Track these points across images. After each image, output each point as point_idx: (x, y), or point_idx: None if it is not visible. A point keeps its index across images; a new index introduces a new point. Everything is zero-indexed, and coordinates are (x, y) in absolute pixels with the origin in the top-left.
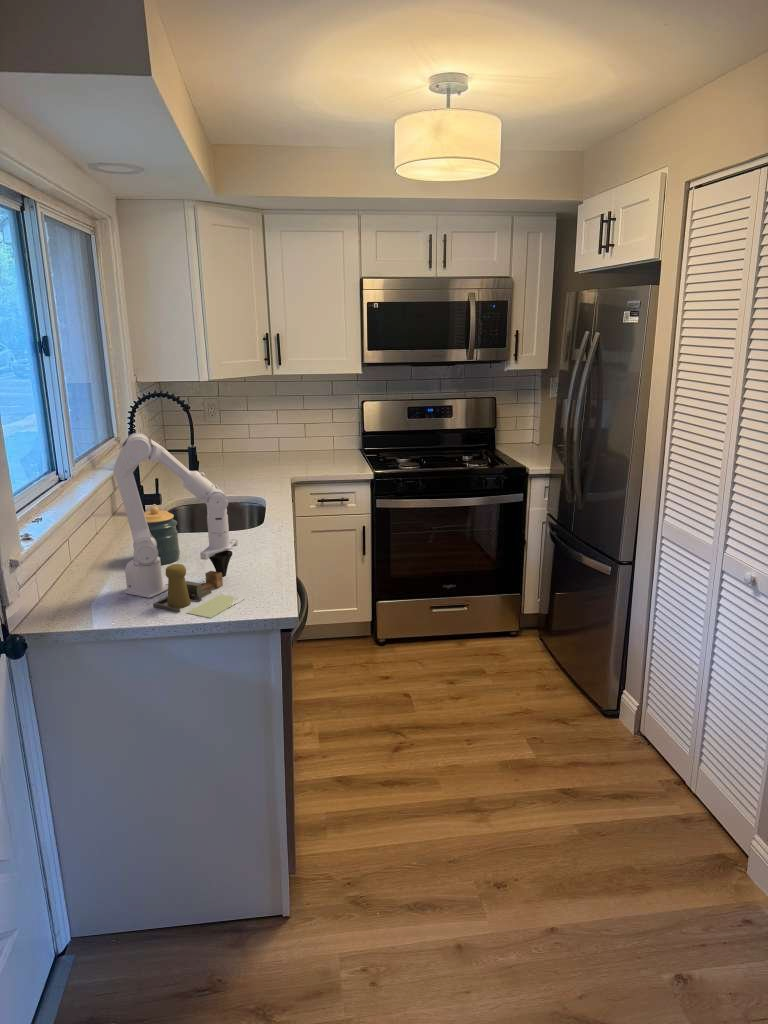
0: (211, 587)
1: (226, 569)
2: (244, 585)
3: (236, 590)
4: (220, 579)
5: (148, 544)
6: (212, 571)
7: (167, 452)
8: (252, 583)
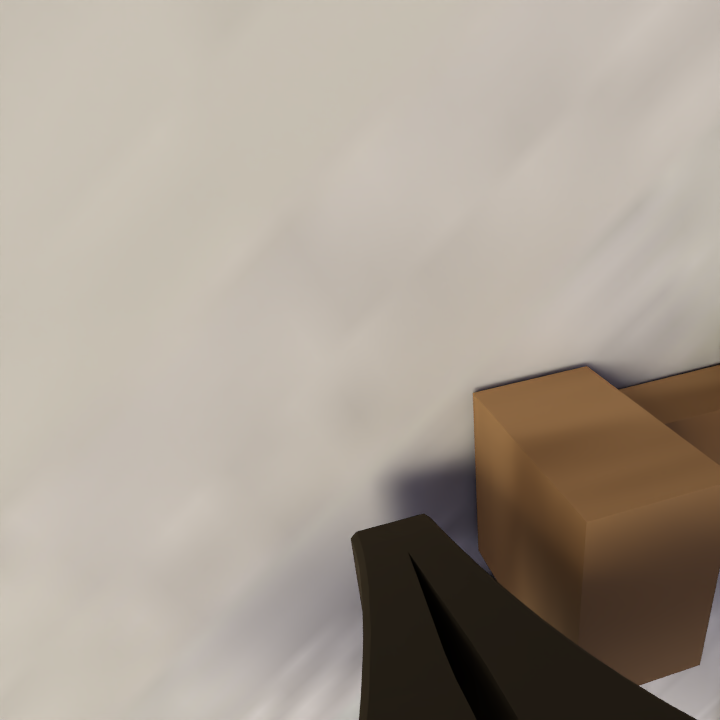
0: (673, 396)
1: (391, 607)
2: (278, 104)
3: (538, 44)
4: (574, 436)
5: None
6: None
7: None
8: (93, 34)
